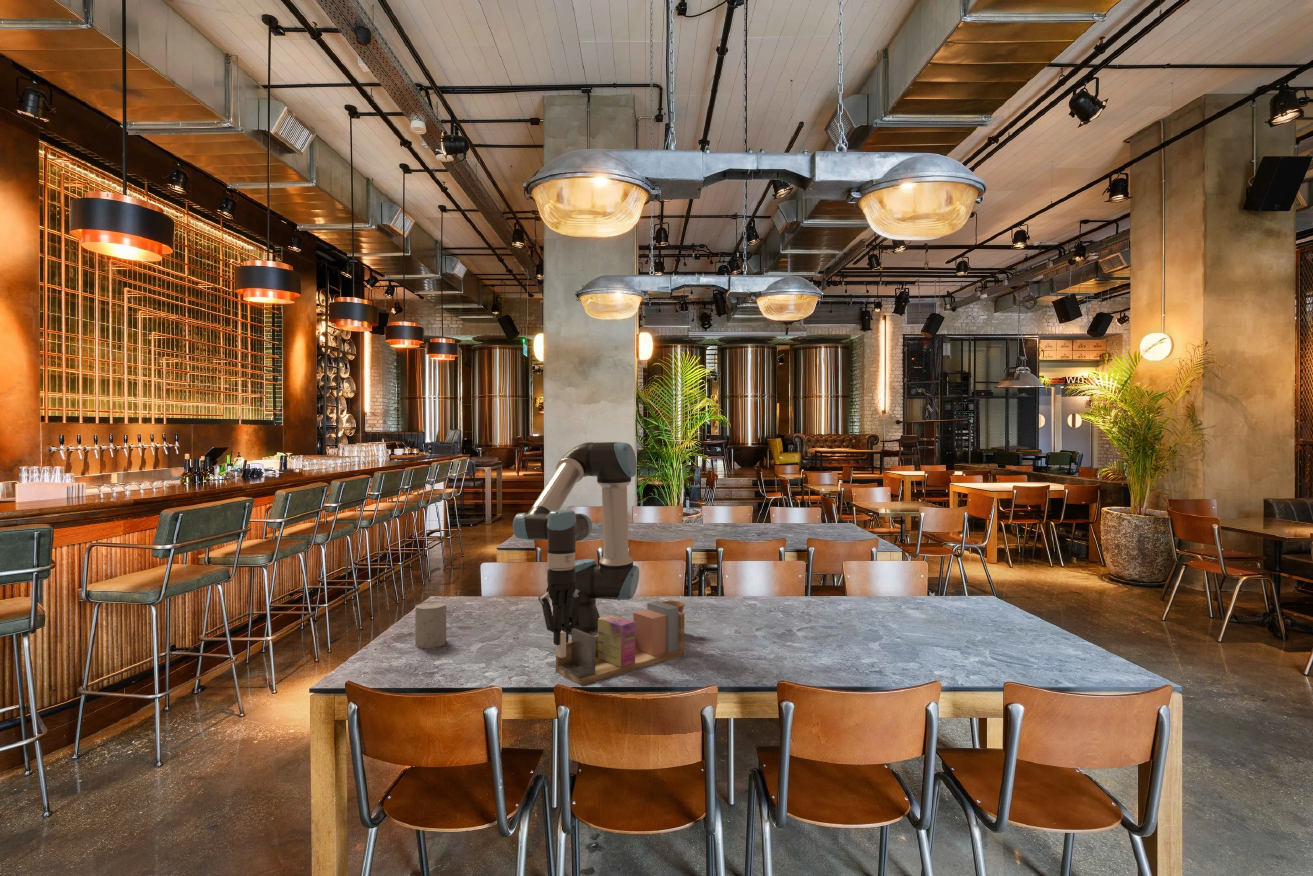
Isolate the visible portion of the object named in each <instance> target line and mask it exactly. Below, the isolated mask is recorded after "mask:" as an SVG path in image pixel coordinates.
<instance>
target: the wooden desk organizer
mask: <svg viewBox="0 0 1313 876" xmlns="http://www.w3.org/2000/svg"><path fill="white" fill-rule="evenodd" d="M678 624H679V650H678V651H674V652H671V653H667V652H666V653H662V654H658V655H655V656H650V655H648V654H645V653H643V652H640V651H638V650H635V663H633V664H631V665H627V666H624V667H619V666H616V665H614V664H611V663H609V662H606V661H604V660H601V659H598V634H597V635H594V636H595V674H592V675H588V676H585V677H581V678H578V677H576V676H574V675H572V674H570V673H568V672H566V671H564V670H562V669H560V668H559V665H561V664H565V663H569V662H572V640H571V641H568V643H566V657H563V658H560V657H558V656H556V655H555V672H556V673H558V674H560V675H561V676H563V677H565V678H567V679H569V680H571V681H573V682H575V683H576V684H578V685H581V686H584V685H586V684H591V683H594V682H596V681H601V680H603V679H607V678H611V677H614V676H618V675H621V674H624V673H628V672H632V671H634V670H638V669H641V668H644V667H648V666H652V665H654V664H655V665H656V664H658V663H662V662H665V661H668V660H672V659H675V658H680V657H683V656H685V613H684V612H683V613H681V612H678Z"/></svg>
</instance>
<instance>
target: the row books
mask: <svg viewBox="0 0 1313 876" xmlns="http://www.w3.org/2000/svg"><path fill="white" fill-rule="evenodd" d="M646 606H647V607H646V608H647V609H643V610H639V611H634V612H632V614H633V615H632V616H633V617H632V618H633V620H632V621H634V622H636V639H635V650H638V651H640V652H643V653H645V654H648V655H650V656H655V655H658V654H662V653H666V652H667V653H671V652H674V651H678V650H679V624H678V607H676V606H673V605H669V604H666V603H663V601H659V600H655V601H650V602H647V604H646Z"/></svg>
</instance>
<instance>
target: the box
mask: <svg viewBox="0 0 1313 876" xmlns="http://www.w3.org/2000/svg"><path fill="white" fill-rule="evenodd" d="M597 635H598V659H601V660H604V661H606V662H609V663H611V664H614V665H616V666H619V667H624V666H627V665H631V664H633V663H635V639H636V622H634V621H633V620H630V619H626V618H623V617H620V616H617V615H613V614H609V615H606V616H603V617H601V616H600V618H598V630H597Z"/></svg>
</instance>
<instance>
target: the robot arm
mask: <svg viewBox="0 0 1313 876" xmlns="http://www.w3.org/2000/svg"><path fill="white" fill-rule="evenodd" d="M637 465H638V463H637V457H636V454H635V450H634V448H633V447H632V445H631V444H630V443H628V442H621V441H612V442H611V441H609V442H608V441H606V442H593V441H591V442H590V441H589V442H584V443H581V444H578V445H575V446H574V447H573V448H571V449H570V450H569V451H567V452H566V453H565V454H564V455H563V456H562V457H561V458H560V459H559V460H558V462H557V464H556V467H555V472H554V474H553V475H552V476H551V478H550V479H549V481H548V482H547V484H546V485H545V486H544V488H543V490H542V492H541V493H540V494H539V495H538V497H537V499H536V500H535V502H534V504H533V505H532V507H531V508H530V509H529V510H528V511H527V512H518V513H517V514H516V515H515V516H514V517H513V521H512V531H513V534H514V536H515V537H516V538H517V539H522V540H529V541H530V540H533V541H534V540H535V541H537V540H538V541H547V556H546V557H547V561H546V562H547V564H546V566H547V568H548V569H547V570H546V571H547V574H546V578H547V579H546V582H547V588H546V589H545V590H546V592H545V593H543V595H540V596H538V599H537V600H538V601H539V602H540V605H541V608H542V612H543V617H544V623H545V627H546V630H547V631H548V632H552V634H553V644H554V645H555V657H556V656H558V657H560V658H563V657H566V643H568V642H569V634H572V629H574V628H576V629H578V630H581V631H583V632H586V633H592V632H595V631H596V632H597V631H598V618H601V616H600V613H599V610H598V607H597V600H611V601H612V600H615V601H616V600H617V601H630V600H631V599H633V598H634V596H635V595H636V593H637V588H638V584H639V580H640V569H639V567H638V566H637V565H634V559H633V558H632V556H630V555H629V554H630V553H629V520H628V519H629V518H628V510H629V509H628V486H629V485H630V484H631V483H632V478H633V477H635V476H636V475H637V468H638V466H637ZM584 477H596V482H597V484H598V485H599V486H600V487H601V500H602V501H601V505H602V507H601V509H602V541H603V543H602V544H603V545H602V546H603V548H602V549H603V557H601V558H600V559H599V561H598V562H599V563H597V560H596V559H594V558H585V559H577V560H576V548H577V547H576V543H577V542H579V541H582V540H584V539H586V538H587V537H588V536H590V534H591V532H592V530H593V522H592V520H591V518H590V516H588V515H587V514H586V513H585V514H584V513H578V512H577V513H576V512H575V511H574V510H571V509H561V508H562V507H563V505H564V503H565V502H566V500H567V498H568V497H569V495H570V494H571V492H572V490H573V489H574V487H575V485H576V483H579V482H581V480H583V478H584ZM550 601H551V603H550Z"/></svg>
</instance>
